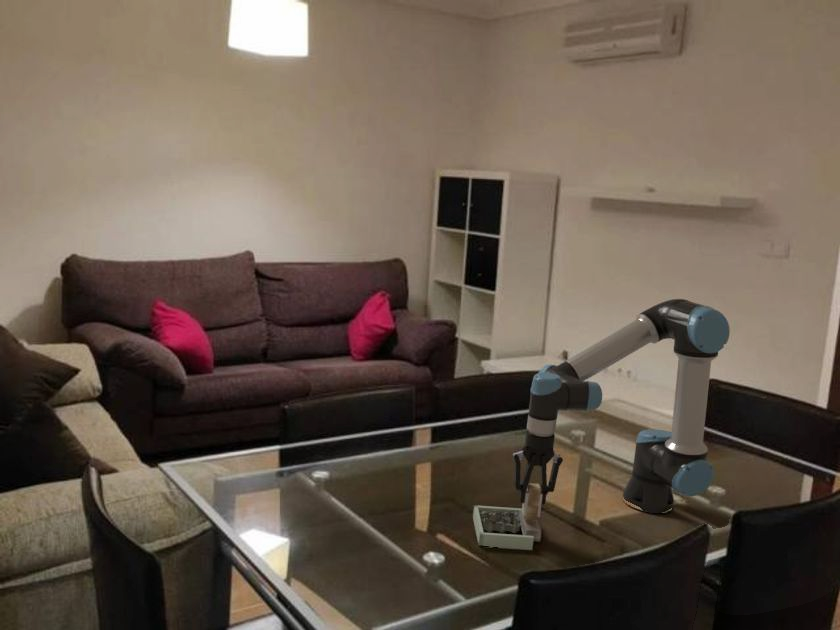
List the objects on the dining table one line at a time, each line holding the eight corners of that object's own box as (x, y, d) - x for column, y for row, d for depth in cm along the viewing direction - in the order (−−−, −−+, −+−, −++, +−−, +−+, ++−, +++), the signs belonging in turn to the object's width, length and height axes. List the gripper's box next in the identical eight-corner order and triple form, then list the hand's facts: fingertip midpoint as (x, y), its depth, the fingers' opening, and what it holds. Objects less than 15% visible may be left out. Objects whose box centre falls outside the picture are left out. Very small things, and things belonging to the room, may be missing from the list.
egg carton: (482, 532, 210) (483, 518, 210) (479, 519, 218) (480, 506, 217) (521, 535, 211) (522, 521, 210) (517, 522, 218) (518, 508, 217)
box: (522, 520, 219) (523, 508, 218) (532, 550, 203) (533, 537, 202) (472, 516, 219) (474, 505, 218) (478, 546, 202) (480, 534, 201)
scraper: (532, 520, 217) (537, 477, 214) (540, 541, 205) (545, 495, 202) (518, 519, 216) (523, 476, 214) (524, 540, 205) (530, 494, 202)
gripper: (567, 428, 209) (557, 510, 214) (508, 424, 208) (499, 506, 213) (574, 438, 202) (563, 522, 206) (512, 434, 201) (503, 518, 206)
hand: (530, 514), depth 210 cm, fingers closed on scraper, 3 cm apart
